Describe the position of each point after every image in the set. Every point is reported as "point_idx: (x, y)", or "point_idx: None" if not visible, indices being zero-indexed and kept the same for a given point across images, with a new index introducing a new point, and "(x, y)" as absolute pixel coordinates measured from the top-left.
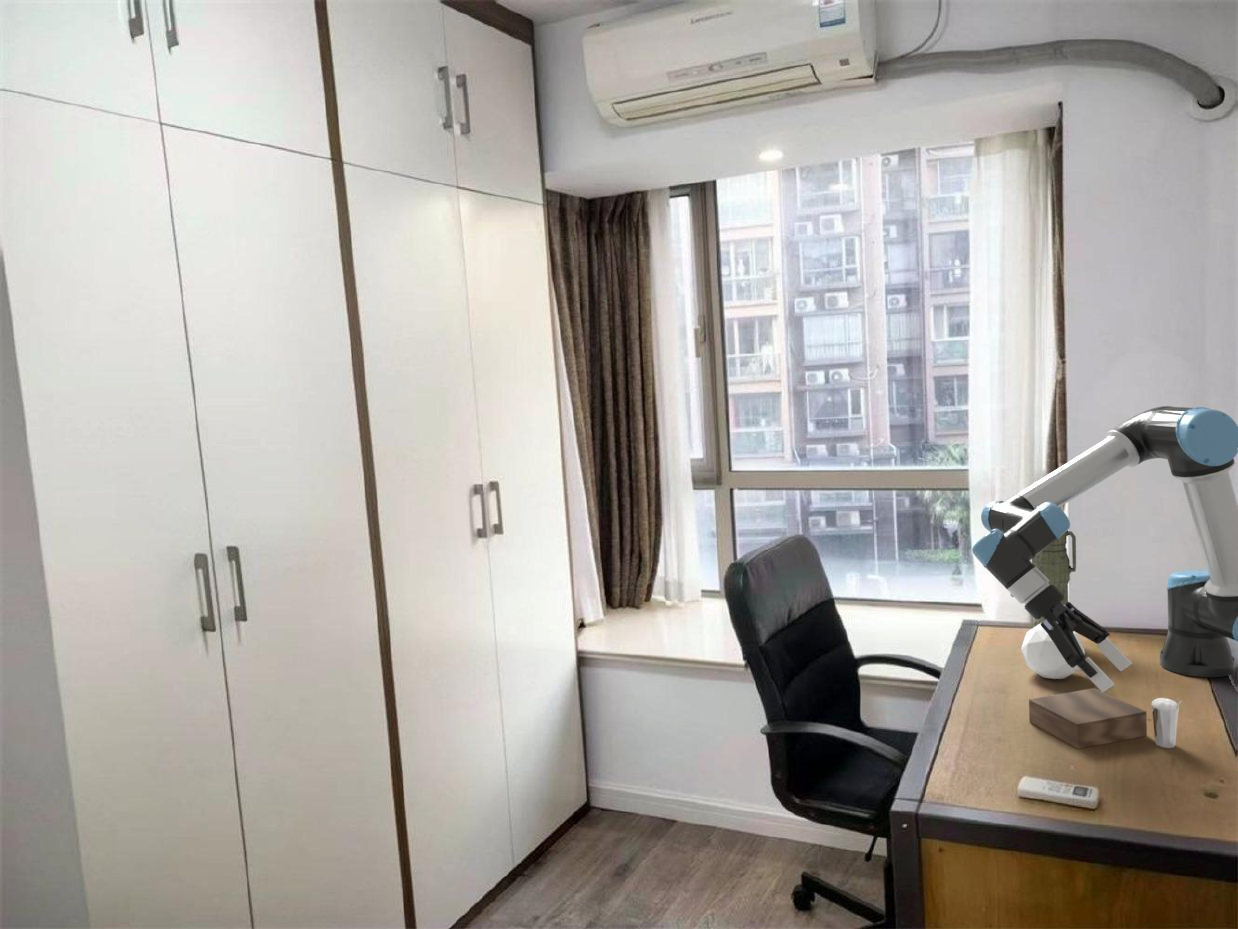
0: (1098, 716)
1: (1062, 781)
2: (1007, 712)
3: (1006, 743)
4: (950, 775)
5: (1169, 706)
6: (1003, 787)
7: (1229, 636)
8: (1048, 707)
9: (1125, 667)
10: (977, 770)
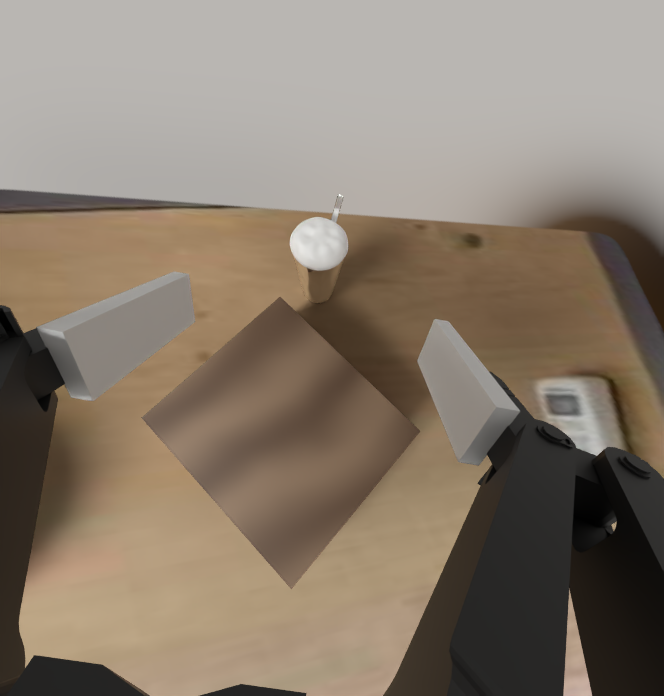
0: (350, 390)
1: None
2: (247, 620)
3: (437, 575)
4: None
5: (343, 231)
6: None
7: None
8: (335, 518)
9: (191, 300)
10: None
